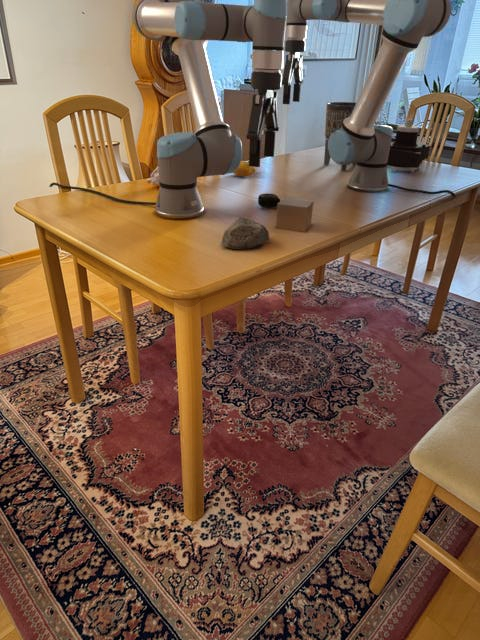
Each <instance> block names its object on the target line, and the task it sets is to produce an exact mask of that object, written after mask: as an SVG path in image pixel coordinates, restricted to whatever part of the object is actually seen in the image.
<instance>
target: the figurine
mask: <svg viewBox="0 0 480 640" xmlns="http://www.w3.org/2000/svg"><path fill="white" fill-rule="evenodd" d="M149 176H150V177H149V178H147V179H146V182H145V183H147V184H152V185H153V186H159V172H158V166H156V168H155V169H154V170H153V171H152V172H151V173H150V175H149Z"/></svg>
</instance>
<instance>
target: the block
mask: <svg viewBox="0 0 480 640" xmlns="http://www.w3.org/2000/svg"><path fill="white" fill-rule="evenodd" d="M313 209H314V200H308V199H307V200H306V199H302V198H301V199H300V198H291V197H284V198H282V199H280V202H279V203H278V204H277V207H276V220H275V228H276V229H283V230H289V231H296V232H302V233H306V231H307V230H308V229H309V228H310V226H311V225H312V220H313V211H314V210H313Z"/></svg>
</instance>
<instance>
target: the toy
mask: <svg viewBox="0 0 480 640" xmlns="http://www.w3.org/2000/svg"><path fill="white" fill-rule="evenodd" d="M255 173H256V169H255V167H252V166H249V160H248V161H246V160H241V162H240V165H239V167H238V169H237V170H236V171H235V172H233V173H232V174H234V175H236V176H239V177H242V178H243V177H245V178H246V177H249V176H252V175H254V174H255Z"/></svg>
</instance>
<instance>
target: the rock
mask: <svg viewBox="0 0 480 640" xmlns="http://www.w3.org/2000/svg"><path fill="white" fill-rule="evenodd" d="M269 241H270V233H269V230H268V229H267V228H266V226H265V225H263V224H261V223H259V222H256V221H255V220H252V219H247V218H245V217H241V216H238V217H237V218H236V219H235V221H234V222H233V223H232V224H231V225H229V226H228V227H227V228H226V229H225V231H224V233H223V236H222V239H221V244H222V247H224V248H229V249H231V250H245V249H254V248H257V247H259V246H260V245H264V244H266V242H269Z"/></svg>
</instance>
